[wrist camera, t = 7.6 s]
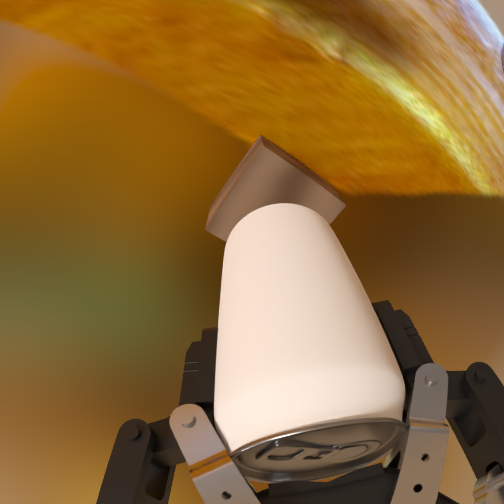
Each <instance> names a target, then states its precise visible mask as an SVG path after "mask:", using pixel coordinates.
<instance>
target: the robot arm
mask: <svg viewBox="0 0 504 504" xmlns="http://www.w3.org/2000/svg"><path fill="white" fill-rule="evenodd" d="M502 64H503V69H504V45H503V48H502ZM371 304H372V307H373V309H374V311H375V313H376V315H377V317H378V319H379V322H380V324H381V326H382V328H383V330H384V333H385V335H386V337H387V339H388V342H389V344H390V346H391V349H392V351H393V353H394V356H395V358H396V361H397V363H398V366H399V368H400V371H401V374H402V376H403V380H404V384H405V401H404V408H403V414H402V422H404V423H405V424H406V426H407V429H406V431H405V432H404V433H402V434H401V436H400V437H399V439H398V440H397V441H396V443H395V445H394V447H393V449H392V451H391V452H390V453H389V454H388V455H387V458H386V461H385V464H384V467H383V466H382V463H378V464H375V465H371V466H368V467H364V468H360V469H356V470H353V471H351V472H349V473H347V474H345V475H343V476H341V477H338V478H336V479H334V480H332V481H329V482H311V481H289V482H280V483H270V484H268V485H269V488H268V489H265V490H262V491H260V492H258V493H257V492H256V491H255V489H254V488H253V486H252V485H251V483H250V482H249V480H248V479H247V478H246V477H245V475H244V474H243V472H242V471H241V470H240V469H239V467H238V466H237V465H236V463H235V462H234V460H232V459H231V457H230V456H229V453H228V451H227V449H226V448H225V446H224V444H223V442H222V440H221V438H220V436H219V434H218V432H217V430H216V427H215V423H214V394H215V372H216V354H217V338H218V327H214V328H205V329H203V331H202V339H201V341H198V342H193V343H192V344H191V346H190V347H189V349H188V350H187V352H186V359H185V366H184V373H183V381H182V387H181V395H180V402H179V406H178V408H176V409H175V410H174V411H173V412H172V414H171V416H169V417H168V418H166V419H163V420H160V421H156V422H153V423H149V424H147V423H146V422H145V421H143V420H140V419H131V420H129V421H127V422H125V423H124V424H123V425H122V426H121V428H120V429H119V432H118V434H117V438H116V441H115V444H114V447H113V450H112V453H111V456H110V459H109V462H108V465H107V469H106V472H105V475H104V479H103V482H102V485H101V489H100V492H99V496H98V500H97V503H96V504H168V501H169V496H170V491H171V487H172V481H173V477H174V472H175V468H176V464H180V463H184V462H187V463H188V465H189V468H190V475H191V478H192V480H193V482H194V484H195V486H196V488H197V490H198V491H199V493H200V495H201V497H202V499H203V500H204V502H205V504H459V503H457V502H456V501H454V500H452V499H450V498H449V497H447V496H445V495H444V494H442V493H440V492H439V486H440V482H441V478H442V473H443V467H444V462H445V456H446V449H447V443H448V436H449V426H448V425H446V424H445V418H446V419H447V420H448V422H449V424H450V426H451V428H452V430H453V432H454V433H455V435H456V437H457V439H458V441H459V443H460V445H461V447H462V449H463V451H464V453H465V455H466V457H467V459H468V461H469V463H470V465H471V467H472V469H473V471H474V474H475V476H476V478H477V481H476V483H475V485H474V489H473V497H474V499H475V503H474V504H504V386H503V384H502V383H501V381H500V380H499V378H498V377H497V375H496V374H495V373H494V371H493V370H492V369H491V367H490V366H488V365H487V364H485V363H483V362H476V363H473V364H471V365H470V366H469V367H468V369H467V370H466V371H445V369H444V368H443V367H442V366H440V365H438V364H435V363H434V362H433V360H432V359H431V357H430V355H429V353H428V351H427V349H426V347H425V345H424V343H423V341H422V339H421V337H420V336H419V335H418V332H417V330H416V328H415V327H414V324H413V323H412V321H411V319H410V317H409V316H408V315H407V314H405V313H404V312H403V311H402V310H396V311H394V309H393V307H392V305H391V303H390V302H389V301H388V300H385V301H380V302H375V303H371Z"/></svg>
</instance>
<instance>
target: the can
mask: <svg viewBox="0 0 504 504" xmlns="http://www.w3.org/2000/svg"><path fill="white" fill-rule="evenodd" d="M404 401H405V384H404V380H403V376H402V374H401V371H400V368H399V366H398V363H397V361H396V358H395V356H394V353H393V351H392V349H391V346H390V344H389V342H388V339H387V337H386V335H385V333H384V330H383V328H382V326H381V324H380V322H379V319H378V317H377V315H376V313H375V311H374V309H373V307H372V304H371V302H370V300H369V298H368V296H367V294H366V292H365V290H364V288H363V286H362V284H361V282H360V280H359V278H358V276H357V274H356V272H355V270H354V268H353V266H352V265H351V262H350V261H349V259H348V257H347V255H346V253H345V251H344V249H343V248H342V246H341V244H340V242H339V240H338V238H337V237H336V235H335V233H334V231H333V230H332V228H331V227H330V225H329V224H328V222H327V221H326V220H325V219H324V218H323V217H322V216H321V215H319V214H318V213H317V212H315V211H313V210H311V209H309V208H307V207H304V206H301V205H297V204H290V203H279V204H272V205H268V206H264V207H261V208H259V209H257V210H255V211H253V212H251V213H249V214H248V215H246V216H245V217H244V218H243V219H241V220H240V221H239V222H238V223H237V225H236V226H235V227H234V228H233V230H232V231H231V233H230V235H229V237H228V240H227V243H226V247H225V253H224V261H223V273H222V284H221V295H220V309H219V322H218V338H217V354H216V372H215V394H214V423H215V427H216V430H217V432H218V434H219V436H220V438H221V440H222V442H223V444H224V446H225V448H226V449H227V451H228V453H229V456H230V457H231V459H232V460H234V462H235V463H236V465H237V466H238V467H239V469H240V470H241V471H242V472H243V474H244V475H245V477H246V478H247V479H248V480H252V481H258V482H266V483H280V482H289V481H314V480H320V479H325V478H330V477H334V476H338V475H342V474H345V473H348V472H351V471H353V470H356V469H360V468H362V467H364V466H367V465H369V464H371V463H373V462H375V461H377V460H379V459H381V458H383V457H385V456H386V455H388V454H389V453H390V452H391V451H392V449H393V447H394V445H395V443H396V441H397V440H398V439H399V437H400V436H401V434H402V433H404V432H405V431H406V429H407V426H406V424H405V423H404V422H402V414H403V408H404Z"/></svg>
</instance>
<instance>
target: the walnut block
mask: <svg viewBox="0 0 504 504" xmlns="http://www.w3.org/2000/svg"><path fill="white" fill-rule="evenodd" d="M279 203H290V204H297V205H301V206H304V207H307V208H309V209H311V210H313V211H315V212H317V213H318V214H319V215H321V216H322V217H323V218H324V219H325V220H326V221H327V222H328V224H329V225H330V224H331V223H332V222H333V221H334V219H335V218H336V217H337V216H338V215H339V213H340V212H341V211H342V210H343V209H344V208H345V206H346V204H345V203H344V201H343V200H342V199H341V197H340V196H339V195H338V193H337V192H336V191H335V189H334V188H333V187H332V186H331V184H329V183H328V182H327V181H325V180H324V179H323V178H321V177H320V176H318V175H317V174H316V173H314V172H313V171H312V170H310V169H309V168H308V167H306V166H305V165H303V164H302V163H301V162H299V161H298V160H296V159H295V158H294V157H292V156H291V155H289V154H288V153H286V152H285V151H283V150H282V149H281V148H279V147H278V146H276V145H275V144H273V143H272V142H270V141H269V140H267V139H266V138H264V137H263V136H261V135H260V136H259V137H258V139H257V140H256V141H255V143H254V144H253V145H252V147H251V148H250V150H249V151H248V153H247V154H246V155H245V157H244V158H243V160H242V161H241V162H240V164H239V165H238V167H237V168H236V170H235V171H234V173H233V174H232V176H231V177H230V178H229V180H228V181H227V183H226V184H225V186H224V187H223V189H222V190H221V192H220V193H219V195H218V196H217V197H216V199H215V201H214V202H213V204H212V205H211V208H210V212H209V216H208V221H207V225H206V229H205V230H206V231H208V232H210V233H211V234H213V235H215V236H217V237H219V238H220V239H222V240H224V241H226V242H227V240H228V237H229V235H230V233H231V231H232V230H233V228H234V227H235V226H236V225H237V223H238V222H239V221H240V220H241V219H243V218H244V217H245V216H246V215H248V214H249V213H251V212H253V211H255V210H257V209H259V208H261V207H264V206H268V205H272V204H279Z"/></svg>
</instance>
